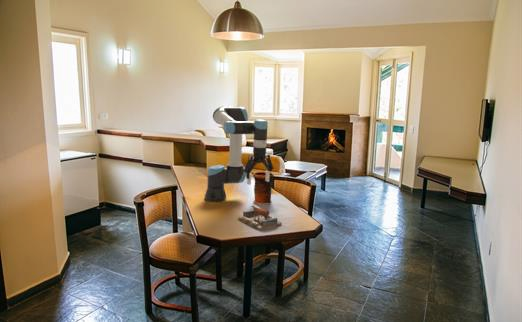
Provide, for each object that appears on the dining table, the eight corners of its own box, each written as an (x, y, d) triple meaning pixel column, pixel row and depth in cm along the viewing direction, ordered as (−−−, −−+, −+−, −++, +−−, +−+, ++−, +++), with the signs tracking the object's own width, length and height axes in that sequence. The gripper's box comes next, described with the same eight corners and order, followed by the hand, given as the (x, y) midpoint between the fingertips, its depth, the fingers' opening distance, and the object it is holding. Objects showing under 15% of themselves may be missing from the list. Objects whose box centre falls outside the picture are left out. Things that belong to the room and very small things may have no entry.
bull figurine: (253, 215, 218) (254, 202, 217) (270, 221, 209) (271, 208, 208) (248, 217, 215) (249, 204, 213) (265, 223, 206) (266, 209, 205)
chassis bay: (238, 219, 216) (238, 212, 215) (259, 214, 225) (259, 207, 225) (259, 230, 199) (260, 222, 199) (281, 225, 209) (282, 217, 208)
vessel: (248, 199, 256) (249, 171, 253) (265, 197, 263) (267, 171, 259) (257, 205, 244) (259, 176, 240) (275, 203, 250) (277, 175, 247)
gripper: (246, 149, 196) (244, 187, 201) (280, 146, 211) (278, 181, 216) (238, 147, 202) (236, 183, 206) (272, 144, 217) (270, 178, 221)
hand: (258, 182), depth 211 cm, fingers open, 13 cm apart
